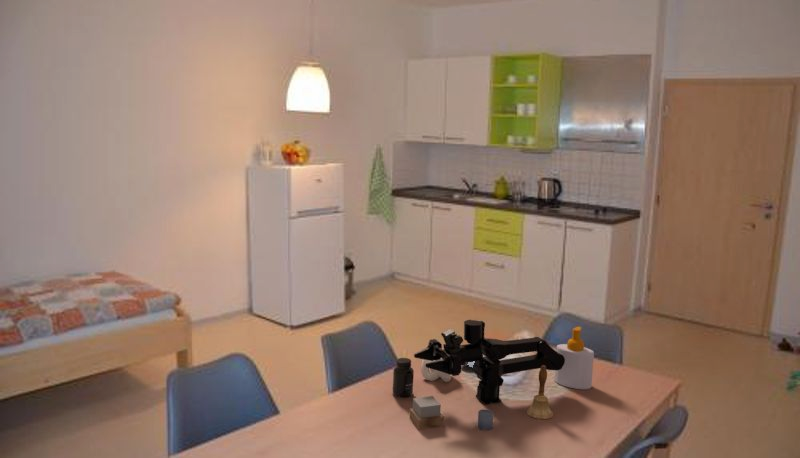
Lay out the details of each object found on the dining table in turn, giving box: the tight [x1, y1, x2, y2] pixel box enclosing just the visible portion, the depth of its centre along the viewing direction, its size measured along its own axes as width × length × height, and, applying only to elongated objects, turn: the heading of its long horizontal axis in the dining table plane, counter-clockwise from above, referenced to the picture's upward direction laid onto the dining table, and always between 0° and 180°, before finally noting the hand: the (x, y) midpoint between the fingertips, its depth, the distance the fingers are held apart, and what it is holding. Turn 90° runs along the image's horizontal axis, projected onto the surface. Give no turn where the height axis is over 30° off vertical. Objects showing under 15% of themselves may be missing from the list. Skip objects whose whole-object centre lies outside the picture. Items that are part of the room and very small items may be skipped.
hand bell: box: [526, 365, 554, 420], centre depth 202 cm, size 8×8×16 cm
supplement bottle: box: [392, 357, 415, 399], centre depth 214 cm, size 7×7×12 cm
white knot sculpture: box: [420, 358, 452, 383], centre depth 228 cm, size 11×12×9 cm
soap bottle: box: [554, 326, 595, 390], centre depth 225 cm, size 13×8×20 cm, turn 58°
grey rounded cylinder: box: [477, 409, 494, 431], centre depth 193 cm, size 4×4×4 cm
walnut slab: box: [409, 407, 445, 431], centre depth 195 cm, size 8×8×4 cm
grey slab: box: [412, 395, 442, 418], centre depth 195 cm, size 6×6×4 cm
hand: (419, 360), depth 201 cm, fingers open, 9 cm apart
